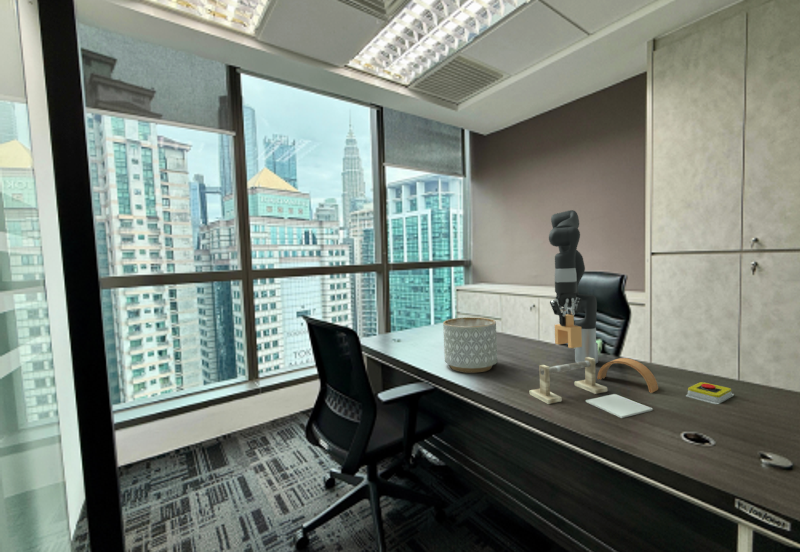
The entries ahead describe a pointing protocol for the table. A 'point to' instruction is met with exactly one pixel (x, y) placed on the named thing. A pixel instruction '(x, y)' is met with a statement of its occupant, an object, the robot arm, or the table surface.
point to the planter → (470, 344)
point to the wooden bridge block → (568, 333)
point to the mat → (619, 405)
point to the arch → (637, 366)
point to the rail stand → (585, 384)
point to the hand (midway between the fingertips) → (566, 325)
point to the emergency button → (709, 393)
